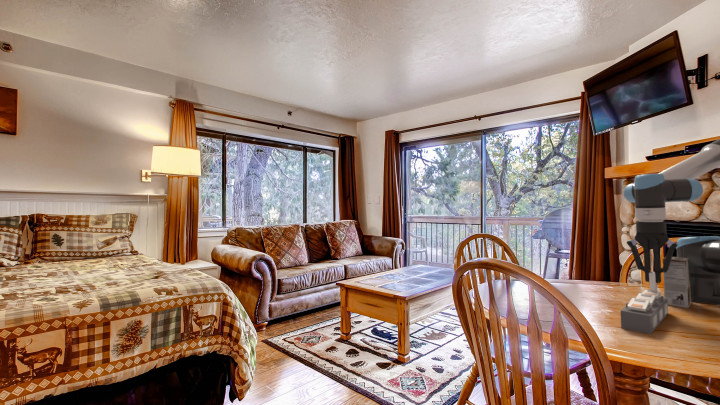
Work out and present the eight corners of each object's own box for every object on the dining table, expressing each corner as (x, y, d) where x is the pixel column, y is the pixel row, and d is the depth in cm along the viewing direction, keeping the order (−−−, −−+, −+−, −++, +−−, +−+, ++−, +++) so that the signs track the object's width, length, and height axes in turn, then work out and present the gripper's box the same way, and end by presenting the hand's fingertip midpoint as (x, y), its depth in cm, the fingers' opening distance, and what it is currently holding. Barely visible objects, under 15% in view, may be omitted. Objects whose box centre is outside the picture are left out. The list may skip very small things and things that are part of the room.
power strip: (642, 309, 112) (641, 290, 113) (669, 313, 107) (668, 293, 107) (621, 328, 95) (620, 305, 95) (651, 334, 90) (651, 311, 90)
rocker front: (632, 301, 100) (632, 297, 99) (650, 304, 96) (649, 299, 96) (627, 310, 96) (627, 305, 96) (645, 313, 93) (645, 308, 93)
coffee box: (667, 299, 124) (665, 255, 124) (691, 302, 119) (689, 257, 119) (663, 304, 118) (661, 258, 118) (689, 308, 113) (687, 260, 113)
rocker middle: (639, 296, 105) (638, 292, 105) (655, 299, 102) (655, 294, 102) (634, 304, 101) (634, 300, 101) (652, 307, 98) (651, 302, 98)
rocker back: (645, 293, 110) (645, 289, 110) (661, 296, 107) (661, 291, 107) (641, 297, 107) (640, 293, 107) (657, 300, 103) (657, 295, 103)
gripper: (622, 221, 113) (625, 291, 112) (675, 221, 102) (679, 298, 102) (628, 219, 117) (631, 286, 117) (679, 220, 107) (682, 293, 107)
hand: (653, 292), depth 110 cm, fingers closed
